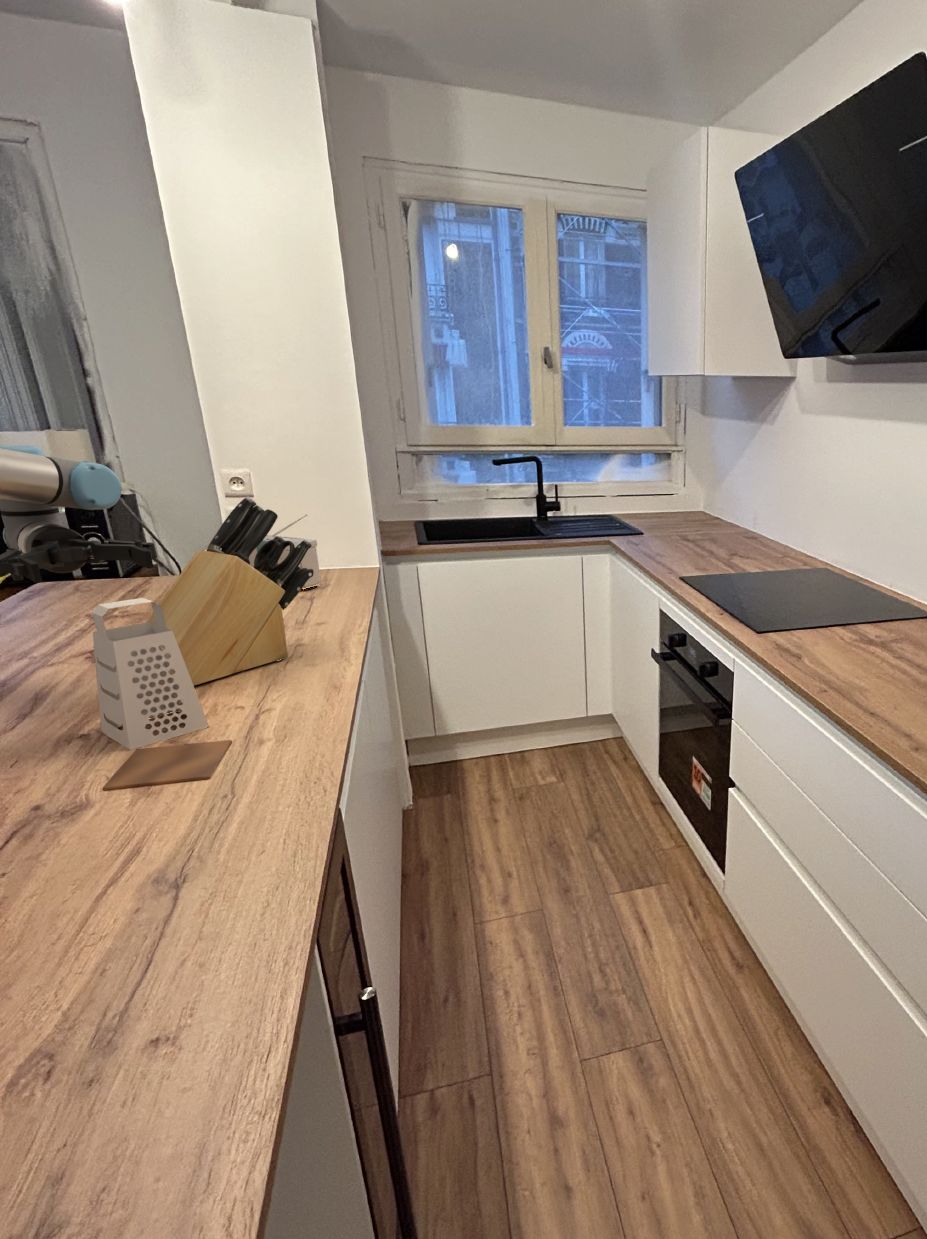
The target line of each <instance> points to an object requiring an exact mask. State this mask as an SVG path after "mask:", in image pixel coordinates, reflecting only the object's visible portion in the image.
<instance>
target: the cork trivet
mask: <svg viewBox="0 0 927 1239" xmlns="http://www.w3.org/2000/svg"><path fill="white" fill-rule="evenodd" d="M232 744H233V740H232V739H226V740H217V741H216V740H215V741H207V742H206V741H204V742H195V743H185V744H175V745H174V744H173V745H163V746H153V747H144V748H142V747H141V748H136V749H134V751H133V752H132V753H131V754H130V755H129V757H128V758H127V759H126V760H125V761H124V763H123V764H121V766H120V767H119V768H118V769H117V771H116V772H115V773H113V775H112V776H111V777H110V778H109V780H107V782H106V783H105V784H104V785H103V787H102V791H109V790H110V791H111V790H119V789H120V790H121V789H128V788H138V787H147V786H157V785H165V784H175V783H181V782H182V783H183V782H192V781H201V780H209V779H211V778H212V777H213V774H214V773H215V771H216V769H217V768H218V767H219V765H220V763H221V761H222V760H223V758H224V756H225V755H226V753H227V752H228V749H229V748H230V746H231V745H232ZM222 757H223V758H222ZM221 759H222V760H221Z"/></svg>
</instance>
